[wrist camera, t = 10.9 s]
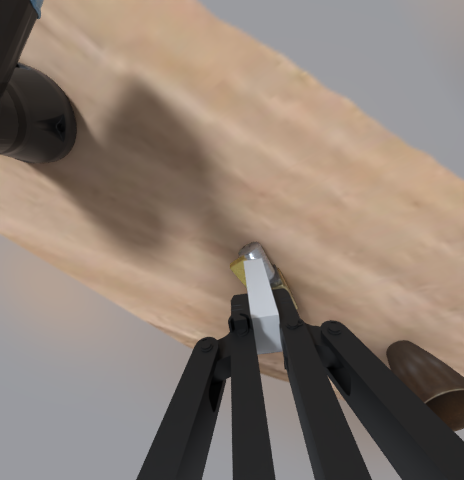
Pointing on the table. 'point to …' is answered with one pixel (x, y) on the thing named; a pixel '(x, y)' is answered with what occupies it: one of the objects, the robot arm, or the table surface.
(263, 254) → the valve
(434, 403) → the plant pot
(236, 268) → the lever
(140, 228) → the table surface
